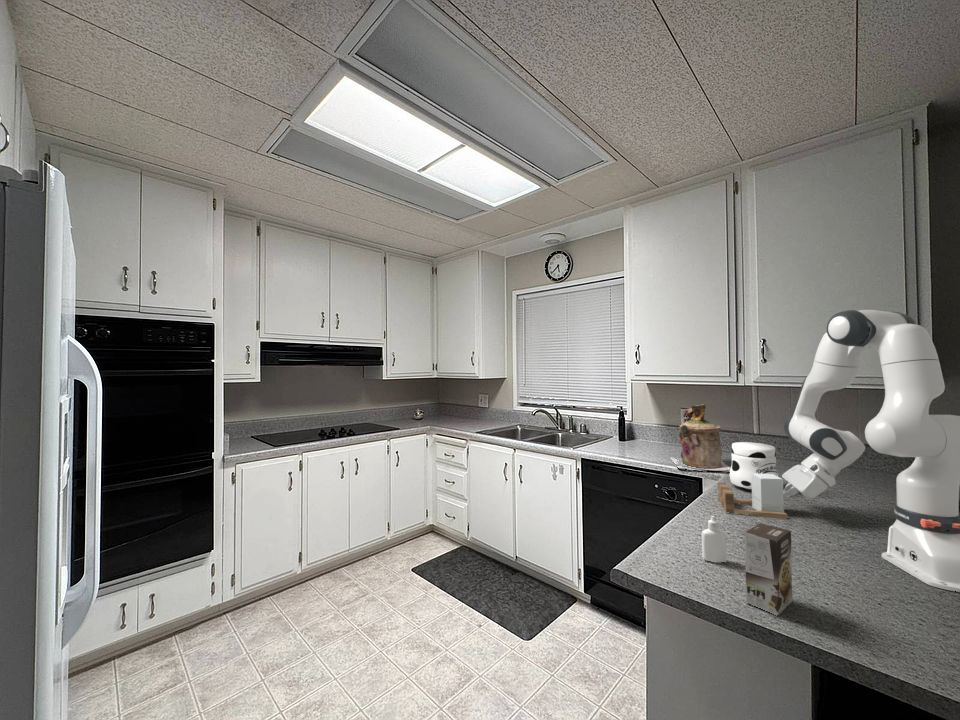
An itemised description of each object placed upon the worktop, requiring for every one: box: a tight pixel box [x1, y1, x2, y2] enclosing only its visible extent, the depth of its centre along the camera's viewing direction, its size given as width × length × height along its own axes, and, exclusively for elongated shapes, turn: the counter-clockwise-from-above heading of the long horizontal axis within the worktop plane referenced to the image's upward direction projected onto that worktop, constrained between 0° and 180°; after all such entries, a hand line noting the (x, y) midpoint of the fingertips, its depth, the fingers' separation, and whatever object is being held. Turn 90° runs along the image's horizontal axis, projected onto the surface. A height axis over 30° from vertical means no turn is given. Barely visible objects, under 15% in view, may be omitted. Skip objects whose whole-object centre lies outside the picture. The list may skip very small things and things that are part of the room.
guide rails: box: [727, 498, 789, 520], centre depth 148 cm, size 13×18×2 cm
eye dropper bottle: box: [701, 515, 727, 563], centre depth 112 cm, size 4×6×12 cm
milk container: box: [729, 441, 779, 492], centre depth 172 cm, size 17×17×18 cm
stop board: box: [717, 482, 735, 514], centre depth 151 cm, size 13×2×7 cm, turn 160°
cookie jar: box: [670, 403, 731, 473], centre depth 208 cm, size 25×25×32 cm
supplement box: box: [751, 473, 785, 513], centre depth 146 cm, size 7×7×13 cm
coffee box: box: [744, 522, 793, 617], centre depth 92 cm, size 9×6×16 cm
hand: (783, 495), depth 145 cm, fingers closed
